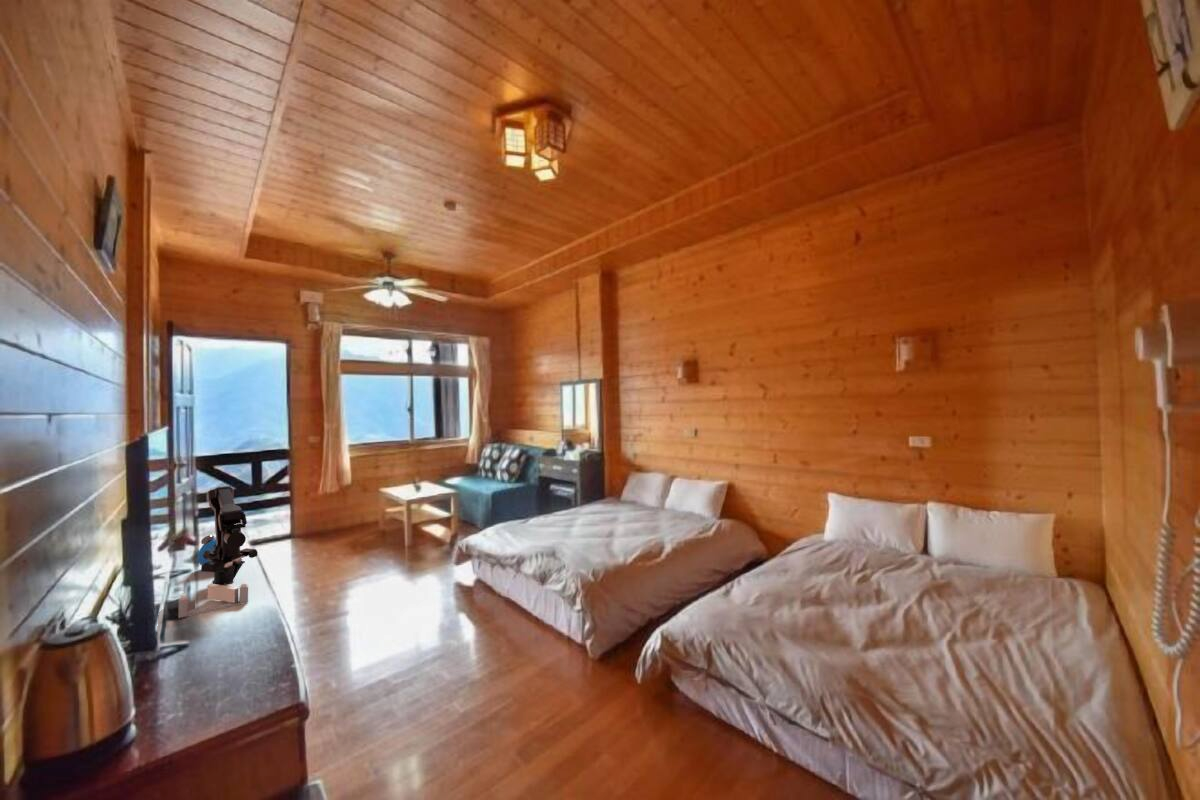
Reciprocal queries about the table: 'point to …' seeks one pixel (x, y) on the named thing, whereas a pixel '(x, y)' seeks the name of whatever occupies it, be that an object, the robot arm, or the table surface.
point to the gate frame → (188, 606)
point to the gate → (223, 593)
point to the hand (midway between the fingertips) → (230, 581)
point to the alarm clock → (206, 548)
